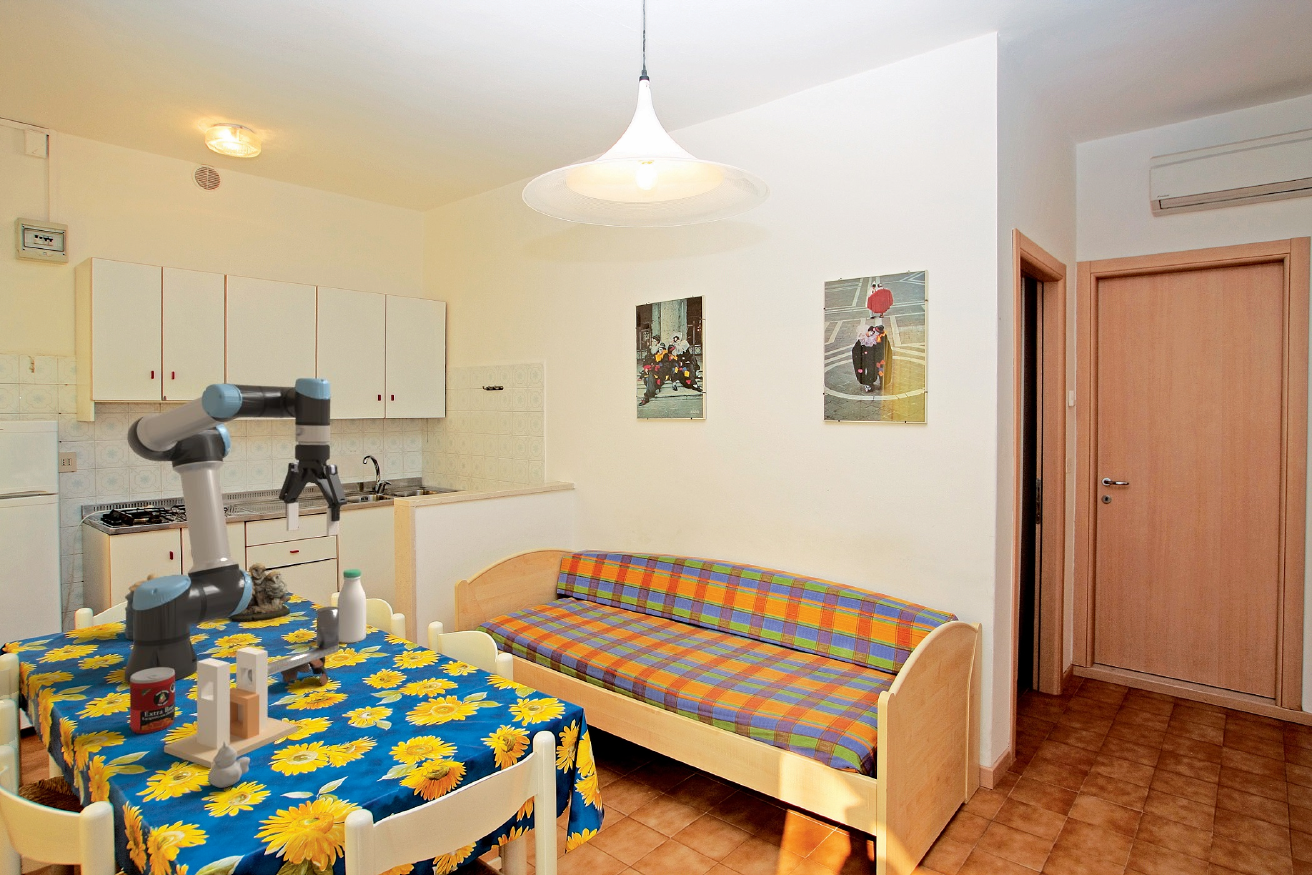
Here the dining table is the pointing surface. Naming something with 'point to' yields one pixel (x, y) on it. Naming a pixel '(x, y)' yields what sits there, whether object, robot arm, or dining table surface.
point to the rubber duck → (227, 767)
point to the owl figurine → (264, 596)
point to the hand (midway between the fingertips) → (312, 532)
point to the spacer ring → (244, 713)
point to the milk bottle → (352, 608)
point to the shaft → (325, 642)
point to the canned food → (152, 699)
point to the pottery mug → (307, 671)
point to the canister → (130, 609)
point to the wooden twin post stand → (228, 709)
